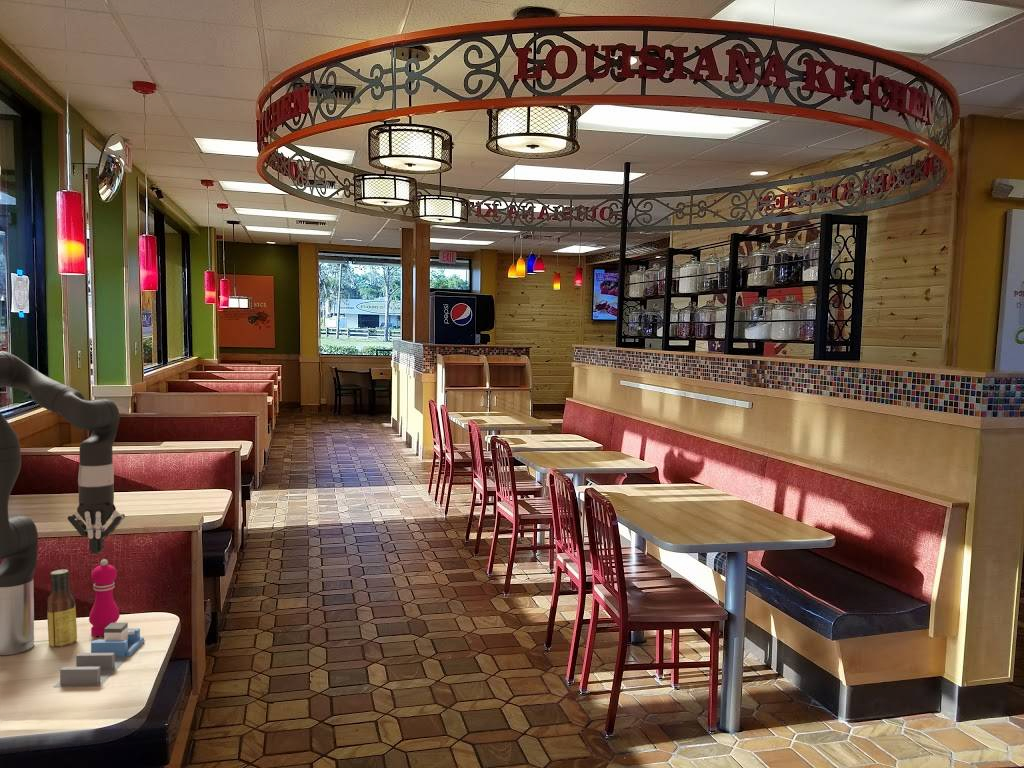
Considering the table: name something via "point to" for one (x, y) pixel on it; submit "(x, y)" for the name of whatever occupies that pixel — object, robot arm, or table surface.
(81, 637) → the table surface
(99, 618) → the pepper mill
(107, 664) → the grey fixture board
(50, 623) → the sauce bottle
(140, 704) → the table surface
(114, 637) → the grey block
